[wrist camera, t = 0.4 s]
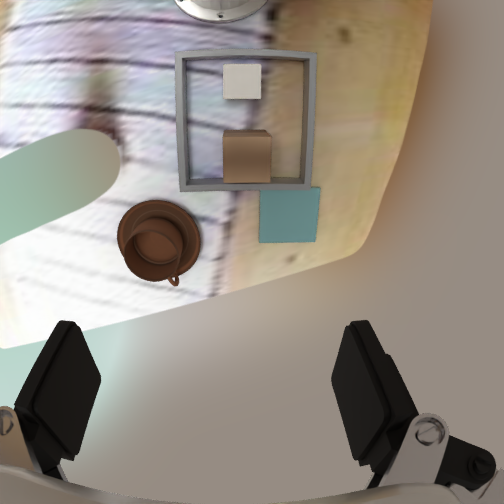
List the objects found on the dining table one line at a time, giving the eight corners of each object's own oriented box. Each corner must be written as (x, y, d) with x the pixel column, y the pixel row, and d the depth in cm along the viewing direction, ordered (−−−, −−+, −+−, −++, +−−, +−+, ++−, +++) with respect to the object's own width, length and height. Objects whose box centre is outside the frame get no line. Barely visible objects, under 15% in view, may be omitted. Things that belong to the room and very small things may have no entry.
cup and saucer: (219, 235, 43) (217, 257, 38) (166, 285, 47) (159, 310, 41) (154, 178, 39) (142, 192, 33) (106, 237, 42) (91, 257, 37)
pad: (260, 186, 40) (260, 187, 39) (319, 187, 40) (320, 188, 40) (258, 240, 44) (259, 242, 43) (314, 240, 44) (315, 242, 44)
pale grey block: (224, 68, 32) (223, 64, 28) (257, 68, 33) (261, 64, 28) (224, 99, 34) (223, 99, 30) (257, 98, 35) (260, 98, 30)
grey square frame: (179, 55, 31) (175, 52, 28) (310, 55, 32) (316, 53, 29) (183, 185, 39) (179, 192, 37) (305, 183, 40) (310, 190, 37)
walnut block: (224, 129, 36) (222, 136, 30) (264, 129, 36) (271, 136, 30) (225, 168, 39) (223, 182, 32) (264, 167, 39) (270, 182, 33)
